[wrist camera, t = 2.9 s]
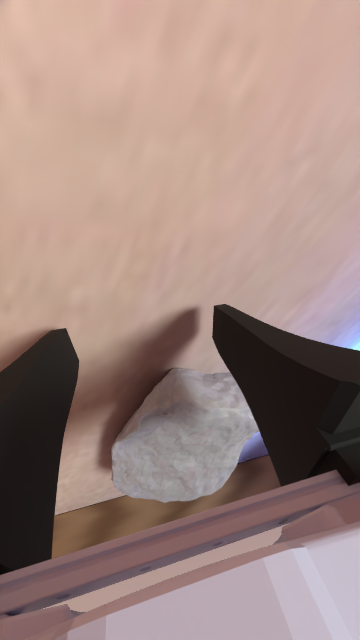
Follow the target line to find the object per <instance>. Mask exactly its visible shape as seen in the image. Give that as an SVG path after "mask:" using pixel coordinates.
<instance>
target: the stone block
mask: <svg viewBox="0 0 360 640" xmlns="http://www.w3.org/2000/svg"><path fill="white" fill-rule="evenodd" d="M258 431H259V429H258V426H257V424H256V422H255V420H254V417H253V415H252V413H251V410H250V408H249V406H248V404H247V402H246V400H245V397H244V395H243V393H242V392H241V390H240V388H239V386H238V384H237V383H236V381H235V379H234V378H233V376H232V374H231V373H230V372H229V373H215V374H205V373H201V372H197V371H195V370H191V369H182V368H173V369H172V370H171V371H169V373H168V374H167V375H166V376H164V378H163V379H162V381H160V382H159V383H158V384H157V385H156V386H155V387H154V388H153V390H152V392H151V393H150V394H149V395H148V396H147V397H146V398H145V399H144V402H143V404H142V405H141V406H140V408H139V409H138V410H136V411H135V412H134V414H133V415H132V417H131V418H130V420H129V421H128V422H127V423H126V425H125V426H124V428H123V429H122V431H121V432H120V433H119V434H118V435H117V437H116V439H115V441H114V443H113V445H112V448H111V454H112V466H111V467H112V481H113V484H114V487H115V488H116V489H117V490H118V491H121V492H122V493H124V494H126V495H128V496H130V497H132V498H143V499H154V500H158V501H161V502H164V503H166V502H169V501H178V500H179V501H190V500H194V499H197V498H199V497H201V496H206V495H211V494H213V493H214V492H216V491H217V490H218V489H220V488H221V487H222V486H223V485H224V484H225V482H226V481H227V480H228V478H229V477H230V475H231V473H232V472H233V471H234V469H235V467H236V466H237V463H238V460H239V457H240V453H241V450H242V448H243V446H244V444H245V443H246V441H247V440H249V439H251V437H252V436H253V434H254V433H256V432H258Z"/></svg>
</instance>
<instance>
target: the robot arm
mask: <svg viewBox="0 0 360 640" xmlns="http://www.w3.org/2000/svg"><path fill="white" fill-rule="evenodd" d="M212 338H213V340H214V343H215V345H216V348H217V350H218V352H219V354H220V356H221V358H222V359H223V361H224V363H225V364H226V366H227V368H228V369H229V371H230V373H231V374H232V376H233V378H234V379H235V381H236V383H237V384H238V386H239V388H240V390H241V392H242V393H243V395H244V397H245V400H246V402H247V404H248V406H249V408H250V410H251V413H252V415H253V417H254V420H255V422H256V424H257V426H258V429H259V431H260V433H261V436H262V438H263V441H264V443H265V446H266V448H267V451H268V453H269V456H270V458H271V461H272V464H273V466H274V469H275V472H276V474H277V477H278V480H279V483H280V485H281V487H279V488H276V489H273V490H270V491H267V492H263V493H260V494H257V495H254V496H251V497H247V498H244V499H241V500H238V501H235V502H232V503H228V504H225V505H222V506H219V507H216V508H212V509H209V510H206V511H203V512H200V513H197V514H193V515H190V516H187V517H184V518H181V519H177V520H174V521H171V522H168V523H165V524H162V525H158V526H155V527H152V528H149V529H146V530H142V531H139V532H136V533H133V534H130V535H127V536H123V537H120V538H117V539H114V540H111V541H107V542H104V543H101V544H98V545H95V546H92V547H88V548H85V549H82V550H79V551H76V552H72V553H69V554H66V555H63V556H60V557H57V558H53V559H52V543H53V528H54V514H55V503H56V492H57V482H58V474H59V465H60V457H61V450H62V444H63V437H64V432H65V427H66V423H67V419H68V415H69V411H70V407H71V403H72V399H73V395H74V391H75V387H76V383H77V378H78V369H79V359H78V357H77V354H76V352H75V349H74V347H73V345H72V342H71V340H70V337H69V335H68V332H67V330H66V328H64V329H57V330H52V331H50V332H49V333H47V334H46V335H45V336H44V337H42V338H41V339H40V340H39V341H38V342H37V343H35V344H34V345H33V346H32V347H31V348H30V349H28V350H27V351H26V352H25V353H24V354H23V355H21V356H20V357H19V358H18V359H17V360H15V361H14V362H13V363H12V364H10V365H9V366H8V367H7V368H5V369H4V370H3V371H2V372H0V640H360V351H358V350H353V349H348V348H343V347H338V346H334V345H329V344H325V343H321V342H318V341H314V340H310V339H307V338H304V337H300V336H297V335H294V334H292V333H289V332H286V331H283V330H281V329H278V328H276V327H273V326H271V325H269V324H266V323H264V322H262V321H260V320H258V319H255V318H253V317H251V316H249V315H247V314H245V313H243V312H241V311H239V310H237V309H235V308H233V307H231V306H229V305H226V304H222V305H216V306H214V315H213V335H212ZM288 523H289V524H288ZM285 524H288V525H286V526H284V527H282V532H281V533H282V535H281V536H280V538H279V539H278V540H277V541H276V542H275V543H274V544H273V545H270V546H268V547H264V548H260V549H257V550H254V551H250V552H247V553H243V554H240V555H237V556H234V557H231V558H228V559H225V560H222V561H219V562H216V563H213V564H209V565H207V566H203V567H201V568H198V569H195V570H192V571H189V572H187V573H184V574H181V575H178V576H176V577H173V578H170V579H167V580H165V581H162V582H160V583H157V584H155V585H152V586H149V587H147V588H144V589H141V590H139V591H136V592H134V593H131V594H129V595H126V596H124V597H121V598H119V599H117V600H114V601H112V602H109V603H107V604H105V605H102V606H100V607H97V608H95V609H93V610H91V611H88V612H77V611H73V610H70V608H69V607H68V605H67V604H64V605H60V606H56V607H51V608H47V609H43V608H46V607H49V606H51V605H54V604H57V603H60V602H63V601H66V600H69V599H72V598H75V597H77V596H80V595H83V594H86V593H89V592H92V591H94V590H98V589H101V588H103V587H106V586H109V585H112V584H115V583H118V582H120V581H124V580H126V579H129V578H132V577H135V576H138V575H141V574H144V573H147V572H150V571H152V570H155V569H158V568H161V567H164V566H167V565H170V564H172V563H175V562H178V561H181V560H184V559H187V558H190V557H193V556H196V555H198V554H201V553H204V552H207V551H210V550H213V549H216V548H218V547H222V546H224V545H227V544H230V543H233V542H236V541H239V540H242V539H244V538H247V537H250V536H253V535H256V534H259V533H262V532H264V531H268V530H270V529H273V528H276V527H279V526H282V525H285ZM40 609H42V610H40ZM37 610H38V611H37Z"/></svg>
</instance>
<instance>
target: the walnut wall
mask: <svg viewBox="0 0 360 640" xmlns="http://www.w3.org/2000/svg"><path fill="white" fill-rule="evenodd" d="M279 487H281V485H280V483H279V480H278V477H277V474H276V472H275V469H274V466H273V464H272V461H271V458H270V456H269V455H267V456H263V457H260V458H256V459H253V460H249V461H246V462H242V463H239V464H237V466H236V467H235V469H234V471H233V472H232V473H231V475H230V477H229V478H228V480H227V481H226V482H225V484H224V485H223V486H222V487H221V488H220V489H218V490H217V491H216V492H214V493H213V494H211V495H206V496H201V497H199V498H197V499H194V500H190V501H179V500H178V501H169V502H166V503H164V502H161V501H158V500H154V499H143V498H132V497H130V496H128V495H127V496H123V497H120V498H116V499H113V500H109V501H106V502H102V503H99V504H95V505H92V506H88V507H85V508H81V509H78V510H74V511H71V512H67V513H64V514H60V515H57V516H54V528H53V543H52V559H53V558H57V557H60V556H63V555H66V554H69V553H72V552H76V551H79V550H82V549H85V548H88V547H92V546H95V545H98V544H101V543H104V542H107V541H111V540H114V539H117V538H120V537H123V536H127V535H130V534H133V533H136V532H139V531H142V530H146V529H149V528H152V527H155V526H158V525H162V524H165V523H168V522H171V521H174V520H177V519H181V518H184V517H187V516H190V515H193V514H197V513H200V512H203V511H206V510H209V509H212V508H216V507H219V506H222V505H225V504H228V503H232V502H235V501H238V500H241V499H244V498H247V497H251V496H254V495H257V494H260V493H263V492H267V491H270V490H273V489H276V488H279Z"/></svg>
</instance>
